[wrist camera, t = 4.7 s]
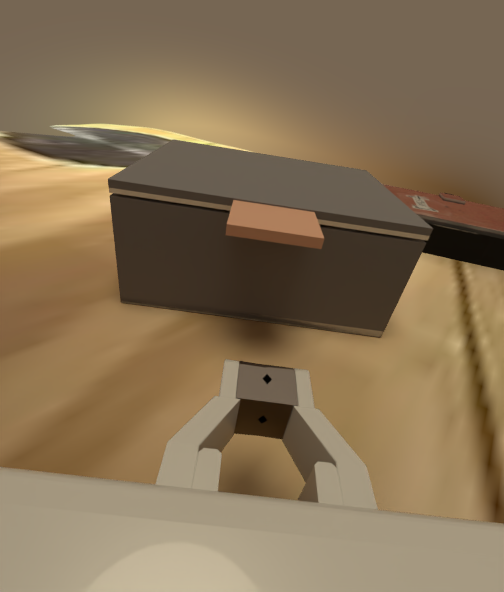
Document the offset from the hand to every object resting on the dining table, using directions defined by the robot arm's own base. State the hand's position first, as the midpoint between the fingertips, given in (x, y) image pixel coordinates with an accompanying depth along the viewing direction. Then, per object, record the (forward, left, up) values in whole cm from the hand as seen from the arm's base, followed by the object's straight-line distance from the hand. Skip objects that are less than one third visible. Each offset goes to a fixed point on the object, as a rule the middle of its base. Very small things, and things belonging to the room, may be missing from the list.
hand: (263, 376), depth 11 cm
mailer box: (-8, +18, -6) cm, 20 cm away
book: (+10, +46, -7) cm, 47 cm away
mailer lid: (-7, +16, +2) cm, 17 cm away
